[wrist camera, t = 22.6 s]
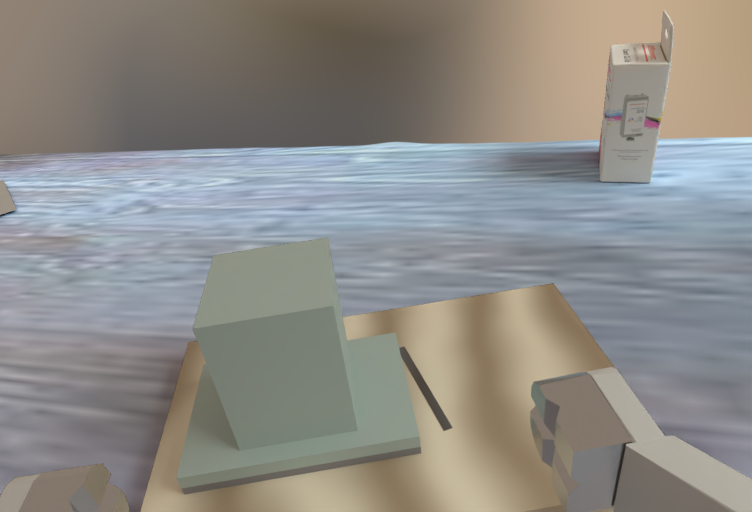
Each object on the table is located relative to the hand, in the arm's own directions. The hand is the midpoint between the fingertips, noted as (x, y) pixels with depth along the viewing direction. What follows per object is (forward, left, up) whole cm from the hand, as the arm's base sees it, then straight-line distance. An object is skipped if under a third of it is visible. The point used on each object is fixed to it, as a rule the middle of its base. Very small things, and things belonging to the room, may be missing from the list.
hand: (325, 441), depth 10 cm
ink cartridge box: (-31, -42, -16) cm, 55 cm away
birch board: (-2, -14, -16) cm, 22 cm away
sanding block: (+3, -14, -15) cm, 21 cm away
